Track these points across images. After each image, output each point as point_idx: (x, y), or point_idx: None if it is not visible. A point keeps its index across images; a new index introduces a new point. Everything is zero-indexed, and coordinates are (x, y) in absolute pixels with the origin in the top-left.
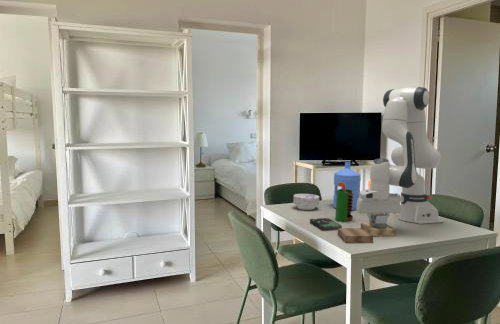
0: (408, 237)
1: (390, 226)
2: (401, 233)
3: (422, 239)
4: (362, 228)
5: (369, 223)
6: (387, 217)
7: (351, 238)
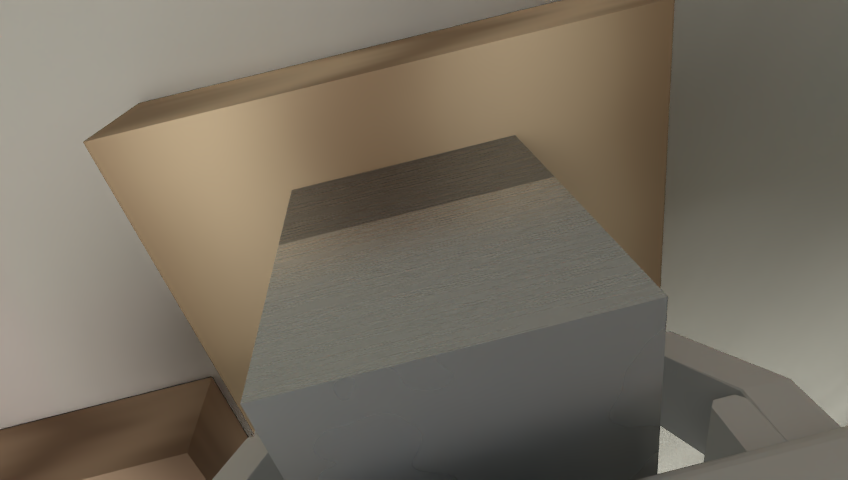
0: (737, 347)
1: (656, 273)
2: (747, 217)
3: (840, 371)
4: (175, 474)
5: (292, 198)
6: (689, 429)
7: None
